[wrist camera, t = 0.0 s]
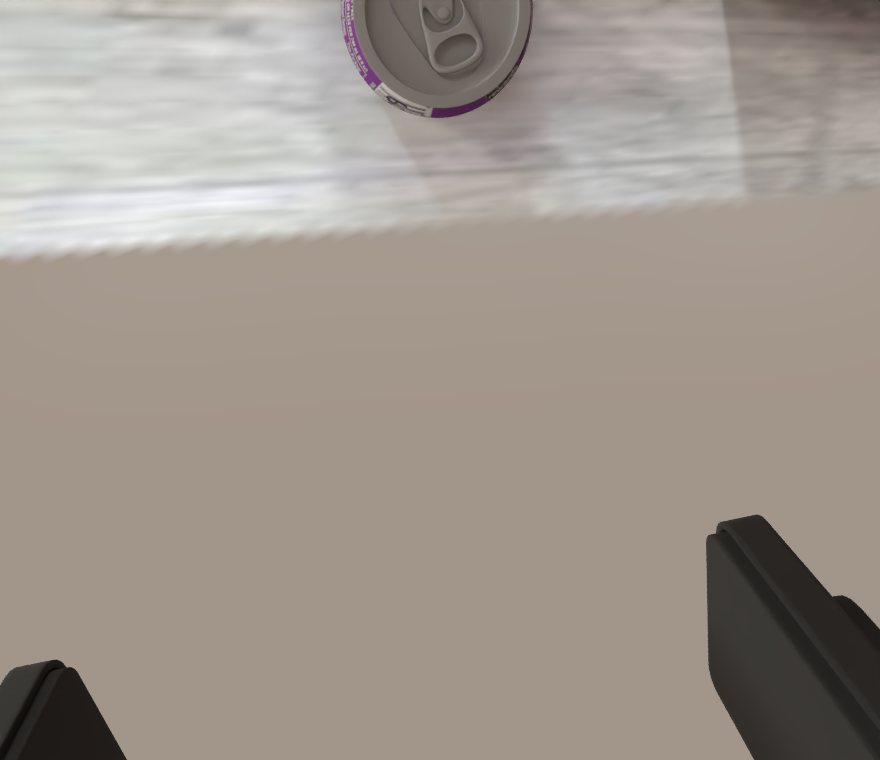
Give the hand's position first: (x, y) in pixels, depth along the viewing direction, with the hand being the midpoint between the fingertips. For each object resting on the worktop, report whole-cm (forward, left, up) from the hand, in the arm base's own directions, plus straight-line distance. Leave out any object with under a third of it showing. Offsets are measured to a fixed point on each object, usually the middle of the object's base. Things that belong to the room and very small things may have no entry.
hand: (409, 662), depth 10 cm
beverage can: (-9, +4, -31) cm, 33 cm away
